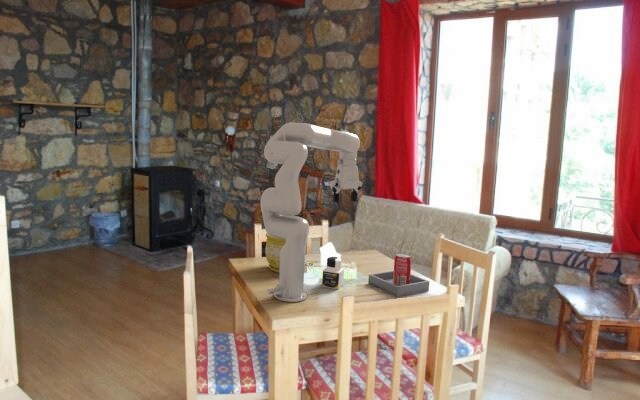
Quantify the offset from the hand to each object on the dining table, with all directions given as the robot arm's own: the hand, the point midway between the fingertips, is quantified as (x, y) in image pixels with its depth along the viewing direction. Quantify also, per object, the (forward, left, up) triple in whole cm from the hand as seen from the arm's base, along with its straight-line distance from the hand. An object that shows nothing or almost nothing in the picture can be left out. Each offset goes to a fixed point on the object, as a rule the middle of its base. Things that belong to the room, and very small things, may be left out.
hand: (345, 201), depth 225 cm
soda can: (+14, -25, -32) cm, 43 cm away
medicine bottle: (-12, -11, -34) cm, 37 cm away
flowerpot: (-19, +17, -34) cm, 42 cm away
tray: (+13, -24, -33) cm, 43 cm away
